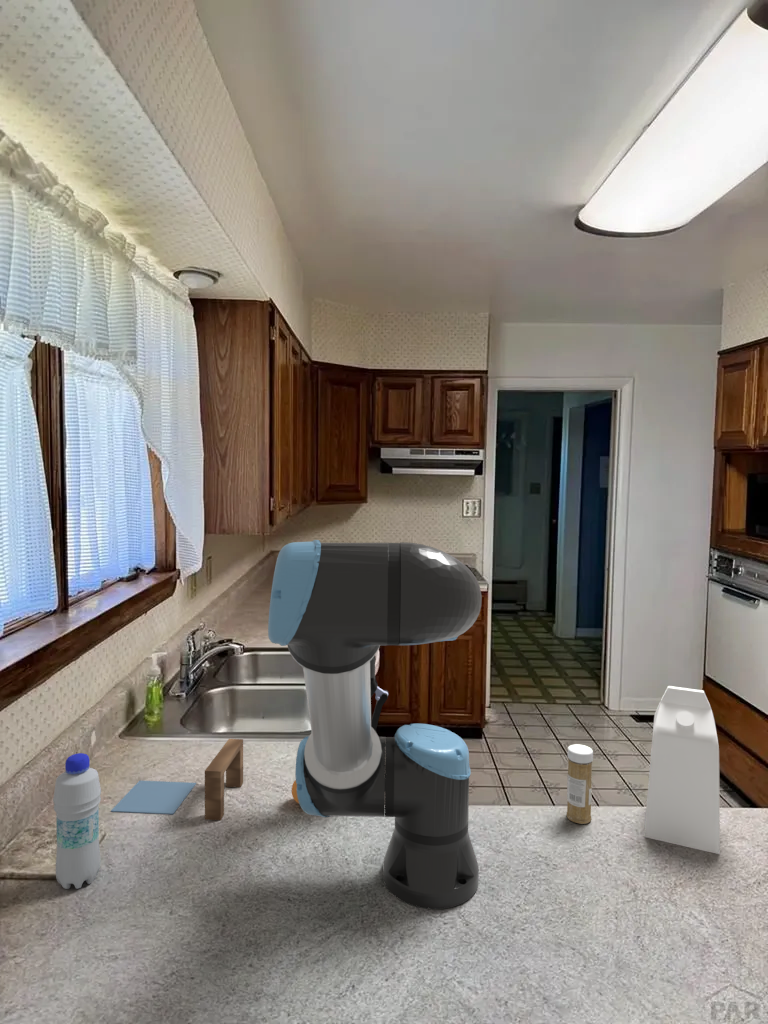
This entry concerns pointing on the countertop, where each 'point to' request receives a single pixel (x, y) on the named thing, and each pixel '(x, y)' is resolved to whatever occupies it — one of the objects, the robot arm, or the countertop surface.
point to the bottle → (77, 822)
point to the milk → (684, 772)
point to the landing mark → (154, 797)
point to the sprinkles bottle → (579, 783)
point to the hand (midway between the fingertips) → (354, 775)
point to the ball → (295, 791)
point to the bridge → (214, 777)
